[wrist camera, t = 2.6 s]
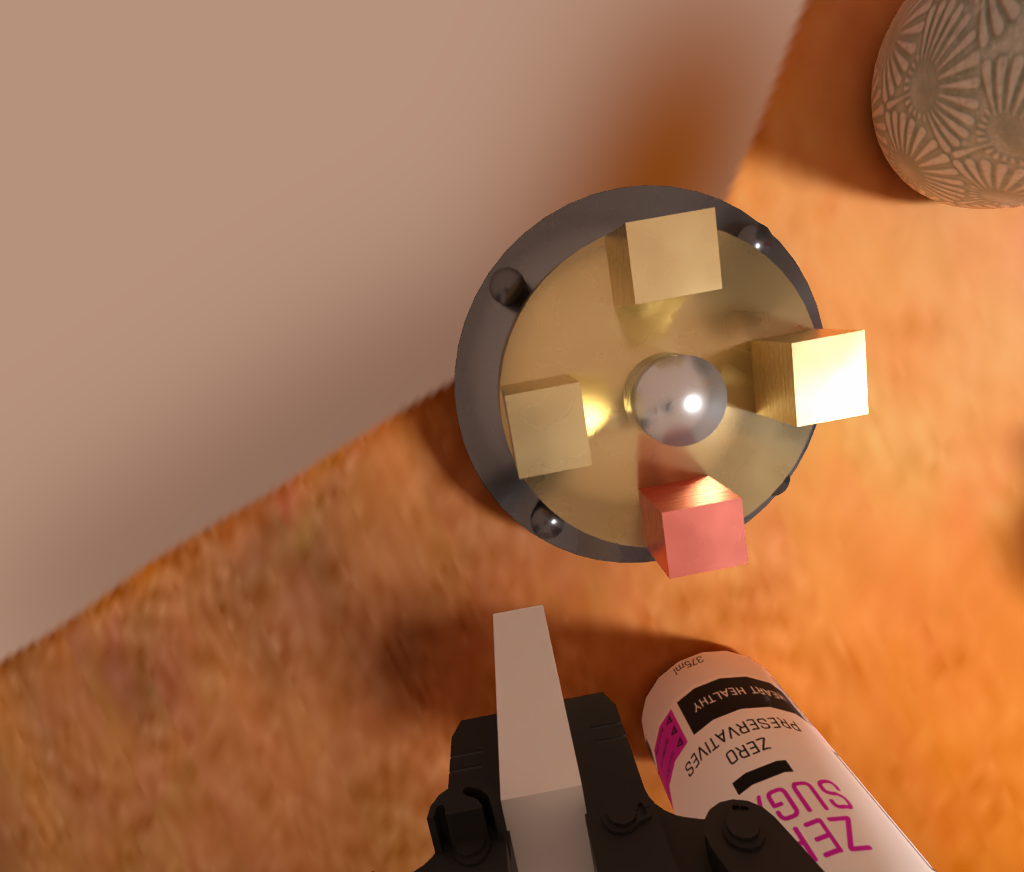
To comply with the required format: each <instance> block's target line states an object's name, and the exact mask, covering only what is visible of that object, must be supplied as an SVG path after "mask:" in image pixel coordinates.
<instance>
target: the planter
mask: <svg viewBox="0 0 1024 872" xmlns="http://www.w3.org/2000/svg"><path fill="white" fill-rule="evenodd" d="M871 109H872V119H873V124H874V129H875V133H876V136H877V140H878V142H879V145H880V147H881V150H882V152H883V154H884V156H885V158H886V159H887V161H888V163H889V164H890V165H891V167H892V168H893V170H894V171H895V172H896V173H897V175H898V176H899V177H900V178H901V179H902V180H903V181H904V182H905V183H906V184H907V185H909V186H910V187H911V188H912V189H914V190H915V191H917V192H918V193H920V194H922V195H924V196H926V197H928V198H930V199H932V200H935V201H938V202H940V203H943V204H947V205H951V206H956V207H964V208H975V209H995V208H1011V207H1022V206H1024V0H905V1H904V2H903V4H902V5H901V7H900V8H899V10H898V12H897V13H896V15H895V17H894V18H893V20H892V22H891V24H890V26H889V28H888V30H887V33H886V35H885V37H884V39H883V42H882V44H881V47H880V50H879V53H878V56H877V60H876V63H875V68H874V74H873V80H872V90H871Z"/></svg>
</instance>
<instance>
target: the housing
mask: <svg viewBox="0 0 1024 872" xmlns="http://www.w3.org/2000/svg"><path fill="white" fill-rule="evenodd" d="M713 207H715V214H716V225H717V230H720V231H723V232H726V233H729V234H731V235H733V236H735V237H737V238H739V239H741V240H743V241H745V242H747V243H749V244H750V245H751V246H753V247H754V248H756V249H757V250H759V251H760V252H761V253H763V254H764V255H766V256H767V257H768V258H769V259H770V260H771V261H772V262H773V263H774V264H775V265H776V266H777V267H778V268H779V269H780V270H781V271H782V272H783V273H784V274H785V276H786V277H787V278H788V279H789V281H790V282H791V283H792V284H793V286H794V287H795V289H796V291H797V292H798V294H799V296H800V297H801V299H802V301H803V303H804V304H805V307H806V309H807V311H808V314H809V316H810V319H811V321H812V324H813V327H814V329H823V328H822V324H821V320H820V316H819V312H818V308H817V305H816V302H815V300H814V297H813V295H812V292H811V290H810V288H809V285H808V283H807V281H806V279H805V278H804V276H803V274H802V272H801V271H800V269H799V267H798V265H797V264H796V262H795V261H794V259H793V258H792V257H791V256H790V254H789V253H788V252H787V250H786V249H785V248H784V247H783V245H782V244H781V243H780V242H779V241H778V240H777V239H776V238H775V237H774V236H773V235H772V234H771V232H770V230H769V229H768V228H767V227H766V226H764V225H763V224H760V223H758V222H757V221H756V220H754V219H753V218H751V217H750V216H749V215H747V214H746V213H744V212H743V211H741V210H740V209H738V208H736V207H734V206H732V205H730V204H728V203H726V202H724V201H722V200H720V199H717V198H714V197H711V196H709V195H705V194H703V193H700V192H697V191H692V190H687V189H682V188H676V187H670V186H648V185H647V186H646V185H644V186H633V187H624V188H617V189H613V190H608V191H604V192H600V193H596V194H593V195H590V196H588V197H585V198H583V199H580V200H577V201H575V202H572V203H570V204H568V205H566V206H564V207H562V208H561V209H559V210H557V211H555V212H554V213H552V214H550V215H548V216H547V217H545V218H544V219H542V220H541V221H540V222H538V223H537V224H536V225H534V226H533V227H532V228H531V229H529V230H528V231H526V232H525V233H524V234H523V235H522V236H521V237H520V238H519V239H518V240H517V241H516V242H515V243H514V244H513V245H512V246H511V247H510V248H509V249H508V250H507V251H506V252H505V253H504V254H503V255H502V257H501V258H500V259H499V261H498V262H497V263H496V264H495V266H494V267H493V268H492V270H491V271H490V272H489V273H488V275H487V277H486V279H485V280H484V282H483V284H482V286H481V287H480V289H479V291H478V292H477V294H476V296H475V298H474V300H473V303H472V305H471V308H470V310H469V313H468V315H467V317H466V320H465V323H464V327H463V330H462V334H461V337H460V341H459V345H458V351H457V359H456V366H455V402H456V410H457V417H458V423H459V427H460V430H461V434H462V438H463V441H464V445H465V447H466V450H467V452H468V454H469V457H470V459H471V462H472V464H473V466H474V468H475V470H476V472H477V473H478V475H479V477H480V478H481V480H482V482H483V484H484V485H485V487H486V488H487V489H488V491H489V492H490V493H491V495H492V496H493V497H494V498H495V500H496V501H497V502H498V504H499V505H500V506H501V507H502V508H503V509H504V510H505V511H506V512H507V513H508V514H509V515H510V516H511V517H512V518H513V519H514V520H515V521H517V522H518V523H519V524H521V525H522V526H523V527H525V528H526V529H527V530H529V531H530V532H531V533H533V534H534V535H536V536H537V537H539V538H541V539H543V540H545V541H546V542H548V543H550V544H552V545H554V546H556V547H558V548H561V549H563V550H566V551H568V552H571V553H573V554H576V555H580V556H584V557H588V558H592V559H596V560H603V561H611V562H619V563H633V562H650V561H656V560H655V559H654V557H653V556H652V555H651V553H650V552H649V551H648V549H647V548H646V547H635V546H627V545H620V544H616V543H613V542H609V541H605V540H602V539H599V538H597V537H594V536H592V535H589V534H587V533H584V532H582V531H581V530H579V529H577V528H575V527H574V526H572V525H570V524H568V523H567V522H565V521H564V520H563V519H561V518H560V517H559V516H558V515H556V514H555V513H554V512H552V511H551V510H550V509H549V508H548V507H547V506H546V505H545V504H544V503H543V502H542V501H541V500H540V499H539V498H538V497H537V496H536V494H535V493H534V492H533V490H532V489H531V488H530V486H529V485H528V484H527V483H526V481H525V480H524V478H522V479H519V476H518V472H517V469H516V466H515V462H514V459H513V456H512V454H511V451H510V449H509V446H508V444H507V440H506V436H505V433H504V429H503V425H502V421H501V417H500V411H499V402H498V372H499V365H500V358H501V353H502V350H503V346H504V343H505V340H506V336H507V334H508V331H509V329H510V327H511V324H512V322H513V320H514V317H515V316H516V314H517V312H518V311H519V309H520V307H521V306H522V304H523V302H524V301H525V299H526V298H527V297H528V295H529V294H530V293H531V291H532V290H533V289H534V288H535V286H536V285H537V284H538V283H539V282H540V281H541V280H542V279H543V278H544V277H545V276H546V275H547V274H548V273H549V272H550V271H551V270H552V269H553V268H554V267H556V266H557V265H558V264H560V263H561V262H562V261H564V260H565V259H566V258H568V257H569V256H571V255H572V254H573V253H575V252H576V251H578V250H579V249H581V248H583V247H585V246H586V245H588V244H590V243H592V242H594V241H595V240H597V239H599V238H601V237H604V236H606V235H607V234H609V233H610V232H612V231H614V230H615V229H617V228H618V227H620V226H621V225H623V224H624V223H627V222H633V221H639V220H644V219H650V218H656V217H662V216H667V215H673V214H679V213H684V212H690V211H696V210H702V209H707V208H713ZM623 400H624V407H625V410H626V413H627V415H628V417H629V419H630V420H631V422H632V423H633V424H634V425H635V426H636V427H637V428H638V429H640V430H641V431H643V432H644V433H646V434H647V435H649V436H650V437H652V438H653V439H655V440H657V441H658V442H660V443H663V444H665V445H669V446H675V447H683V446H689V445H693V444H695V443H698V442H700V441H702V440H704V439H705V438H706V437H708V436H709V435H710V434H711V433H712V432H713V431H714V430H715V429H716V428H717V427H718V425H719V424H720V422H721V420H722V418H723V416H724V413H725V410H726V406H727V390H726V385H725V382H724V380H723V378H722V376H721V374H720V373H719V371H718V370H717V369H716V368H715V367H714V366H713V365H712V364H711V363H709V362H708V361H706V360H704V359H702V358H700V357H696V356H691V355H685V354H679V353H673V352H663V353H657V354H654V355H651V356H649V357H647V358H645V359H644V360H642V361H641V362H640V363H639V364H638V365H637V366H636V367H635V368H634V369H633V370H632V372H631V373H630V375H629V377H628V379H627V381H626V384H625V387H624V394H623ZM816 424H817V423H816ZM816 424H813V427H812V429H811V432H810V435H809V437H808V440H807V442H806V445H805V447H804V449H803V451H802V453H801V454H800V456H799V458H798V460H797V462H796V464H795V465H794V467H793V468H792V470H791V471H790V473H789V474H788V475H787V477H786V478H785V480H784V481H783V482H782V484H781V485H780V486H779V487H778V488H777V489H776V490H775V491H774V492H773V494H772V495H771V496H770V497H769V498H768V499H767V500H766V501H764V502H763V503H762V504H761V505H760V506H759V507H758V508H757V509H755V510H754V511H753V512H752V513H750V514H749V515H747V516H746V517H744V524H745V523H747V522H748V521H750V520H751V519H752V518H753V517H754V516H755V515H756V514H758V513H759V512H760V511H761V510H762V509H763V508H764V507H765V506H767V504H768V503H769V502H770V501H771V500H772V499H773V498H774V497H775V496H776V495H779V494H781V493H783V492H784V491H785V490H786V488H787V487H788V485H789V482H790V476H791V475H792V473H793V472H794V471H795V469H796V468H797V466H798V464H799V462H800V460H801V458H802V456H803V455H804V453H805V451H806V449H807V447H808V445H809V442H810V440H811V437H812V435H813V432H814V429H815V427H816Z"/></svg>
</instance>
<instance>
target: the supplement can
mask: <svg viewBox="0 0 1024 872" xmlns="http://www.w3.org/2000/svg"><path fill="white" fill-rule="evenodd" d="M641 720H642V726H643V732H644V737H645V742H646V744H647V746H648V749H649V751H650V754H651V756H652V759H653V761H654V764H655V766H656V768H657V771H658V773H659V776H660V778H661V781H662V783H663V786H664V788H665V790H666V793H667V795H668V798H669V800H670V803H671V805H672V808H673V810H674V812H675V815H678V816H683V817H689V818H698V819H705V817H706V815H707V813H708V811H709V810H710V809H711V808H712V807H714V806H715V805H716V804H718V803H719V802H723V801H727V800H731V799H736V800H746V801H750V802H752V803H755V804H757V805H759V806H762V807H763V808H765V809H766V810H767V811H768V812H769V813H771V814H772V815H773V816H774V817H775V818H776V819H777V820H778V821H779V822H780V823H781V824H782V825H783V826H784V828H785V829H786V830H787V831H788V832H789V833H790V834H791V835H792V836H793V837H794V839H795V840H796V841H797V842H798V843H799V844H800V845H801V846H802V847H803V848H804V850H805V851H806V852H807V853H808V854H809V855H810V856H811V857H812V858H813V859H814V861H815V862H816V863H817V864H818V865H819V866H820V867H821V868H822V869H823V870H824V872H936V871H935V870H934V869H933V868H932V866H931V865H930V864H929V863H928V862H927V860H926V859H925V858H924V857H923V856H922V855H921V853H920V852H919V851H918V850H917V849H916V847H915V846H914V845H913V844H912V843H911V841H910V840H909V839H908V838H907V837H906V835H905V834H904V833H903V832H902V831H901V830H900V828H899V827H898V826H897V825H896V824H895V822H894V821H893V820H892V819H891V818H890V816H889V815H888V814H887V813H886V812H885V810H884V809H883V808H882V807H881V806H880V805H879V803H878V802H877V801H876V800H875V799H874V797H873V796H872V795H871V794H870V793H869V791H868V790H867V789H866V788H865V787H864V785H863V784H862V783H861V782H860V781H859V779H858V778H857V777H856V776H855V775H854V774H853V772H852V771H851V770H850V769H849V768H848V766H847V765H846V764H845V763H844V762H843V760H842V759H841V758H840V757H839V756H838V754H837V753H836V752H835V751H834V750H833V749H832V747H831V746H830V745H829V744H828V743H827V741H826V740H825V739H824V738H823V737H822V735H821V734H820V733H819V732H818V731H817V729H816V728H815V727H814V726H813V725H812V723H811V722H810V721H809V720H808V719H807V718H806V716H805V715H804V714H803V713H802V712H801V710H800V709H799V708H798V707H797V706H796V704H795V703H794V702H793V701H792V700H791V698H790V697H789V696H788V695H787V694H786V693H785V691H784V690H783V689H782V688H781V687H780V685H779V684H778V683H777V682H776V681H775V679H774V678H773V677H772V676H771V675H770V673H769V672H768V671H767V670H766V669H765V668H763V667H762V666H761V665H759V664H758V663H756V662H755V661H754V660H752V659H751V658H750V657H747V656H744V655H740V654H737V653H733V652H729V651H715V652H701V653H699V654H696V655H694V656H691V657H689V658H686V659H684V660H681V661H679V662H677V663H676V664H675V665H674V666H672V667H671V668H670V669H669V670H667V671H666V672H665V673H664V674H663V675H661V676H660V677H659V678H658V680H657V681H656V683H655V684H654V686H653V688H652V689H651V691H650V692H649V694H648V695H647V697H646V700H645V705H644V710H643V714H642V719H641Z"/></svg>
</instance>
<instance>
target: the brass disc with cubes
mask: <svg viewBox="0 0 1024 872" xmlns="http://www.w3.org/2000/svg"><path fill="white" fill-rule="evenodd" d="M663 352H673V353H679V354H685V355H691V356H696V357H700V358H702V359H704V360H706V361H708V362H709V363H711V364H712V365H713V366H714V367H715V368H716V369H717V370H718V371H719V373H720V374H721V376H722V378H723V380H724V382H725V385H726V390H727V406H726V410H725V413H724V416H723V418H722V420H721V422H720V424H719V425H718V427H717V428H716V429H715V430H714V431H713V432H712V433H711V434H710V435H709V436H708V437H706V438H705V439H704V440H702V441H700V442H698V443H695V444H693V445H689V446H683V447H675V446H669V445H665V444H663V443H660V442H658V441H657V440H655V439H653V438H652V437H650V436H649V435H647V434H646V433H644V432H643V431H641V430H640V429H638V428H637V427H636V426H635V425H634V424H633V423H632V422H631V420H630V419H629V417H628V415H627V413H626V410H625V407H624V400H623V394H624V387H625V384H626V381H627V379H628V377H629V375H630V373H631V372H632V370H633V369H634V368H635V367H636V366H637V365H638V364H639V363H640V362H641V361H642V360H644V359H645V358H647V357H649V356H651V355H654V354H657V353H663ZM498 402H499V411H500V417H501V421H502V425H503V429H504V433H505V436H506V440H507V444H508V446H509V449H510V451H511V454H512V456H513V459H514V462H515V466H516V469H517V472H518V476H519V479H522V478H524V480H525V481H526V483H527V484H528V485H529V486H530V488H531V489H532V490H533V492H534V493H535V494H536V496H537V497H538V498H539V499H540V500H541V501H542V502H543V503H544V504H545V505H546V506H547V507H548V508H549V509H550V510H551V511H552V512H554V513H555V514H556V515H558V516H559V517H560V518H561V519H563V520H564V521H565V522H567V523H568V524H570V525H572V526H574V527H575V528H577V529H579V530H581V531H582V532H584V533H587V534H589V535H592V536H594V537H597V538H599V539H602V540H605V541H609V542H613V543H616V544H620V545H627V546H635V547H646V548H647V549H648V551H649V552H650V553H651V555H652V556H653V557H654V559H655V560H656V561H657V562H658V564H659V565H660V566H661V568H662V569H663V570H664V572H665V573H666V574H667V576H668V577H669V578H670V579H671V578H676V577H681V576H686V575H691V574H696V573H702V572H707V571H712V570H717V569H722V568H727V567H733V566H738V565H743V564H748V560H747V549H746V538H745V527H744V517H746V516H747V515H749V514H750V513H752V512H753V511H754V510H755V509H757V508H758V507H759V506H760V505H761V504H762V503H763V502H764V501H766V500H767V499H768V498H769V497H770V496H771V495H772V494H773V492H774V491H775V490H776V489H777V488H778V487H779V486H780V485H781V484H782V482H783V481H784V480H785V478H786V477H787V475H788V474H789V473H790V471H791V470H792V468H793V467H794V465H795V464H796V462H797V460H798V458H799V456H800V454H801V453H802V451H803V449H804V447H805V445H806V442H807V440H808V437H809V435H810V432H811V429H812V427H813V424H816V423H821V422H826V421H832V420H837V419H842V418H848V417H853V416H858V415H864V414H868V400H867V376H866V352H865V330H842V329H814V327H813V324H812V321H811V319H810V316H809V314H808V311H807V309H806V307H805V304H804V303H803V301H802V299H801V297H800V296H799V294H798V292H797V291H796V289H795V287H794V286H793V284H792V283H791V282H790V281H789V279H788V278H787V277H786V276H785V274H784V273H783V272H782V271H781V270H780V269H779V268H778V267H777V266H776V265H775V264H774V263H773V262H772V261H771V260H770V259H769V258H768V257H767V256H766V255H764V254H763V253H761V252H760V251H759V250H757V249H756V248H754V247H753V246H751V245H750V244H749V243H747V242H745V241H743V240H741V239H739V238H737V237H735V236H733V235H731V234H729V233H726V232H723V231H720V230H717V225H716V214H715V207H713V208H707V209H702V210H696V211H690V212H684V213H679V214H673V215H667V216H662V217H656V218H650V219H644V220H639V221H633V222H627V223H624V224H623V225H621V226H620V227H618V228H617V229H615V230H614V231H612V232H610V233H609V234H607V235H606V236H604V237H601V238H599V239H597V240H595V241H594V242H592V243H590V244H588V245H586V246H585V247H583V248H581V249H579V250H578V251H576V252H575V253H573V254H572V255H571V256H569V257H568V258H566V259H565V260H564V261H562V262H561V263H560V264H558V265H557V266H556V267H554V268H553V269H552V270H551V271H550V272H549V273H548V274H547V275H546V276H545V277H544V278H543V279H542V280H541V281H540V282H539V283H538V284H537V285H536V286H535V288H534V289H533V290H532V291H531V293H530V294H529V295H528V297H527V298H526V299H525V301H524V302H523V304H522V306H521V307H520V309H519V311H518V312H517V314H516V316H515V317H514V320H513V322H512V324H511V327H510V329H509V331H508V334H507V336H506V340H505V343H504V346H503V350H502V353H501V358H500V365H499V372H498Z"/></svg>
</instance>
